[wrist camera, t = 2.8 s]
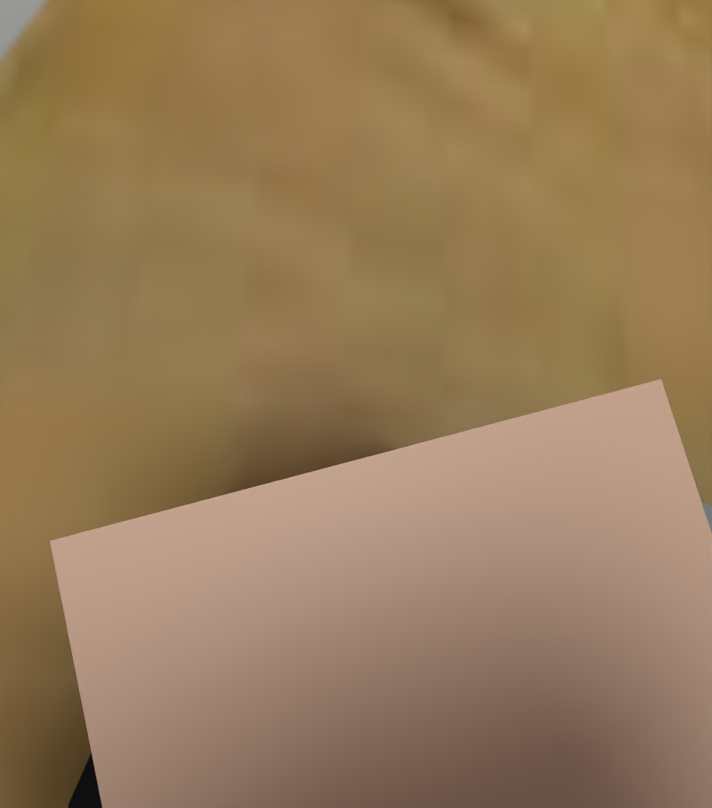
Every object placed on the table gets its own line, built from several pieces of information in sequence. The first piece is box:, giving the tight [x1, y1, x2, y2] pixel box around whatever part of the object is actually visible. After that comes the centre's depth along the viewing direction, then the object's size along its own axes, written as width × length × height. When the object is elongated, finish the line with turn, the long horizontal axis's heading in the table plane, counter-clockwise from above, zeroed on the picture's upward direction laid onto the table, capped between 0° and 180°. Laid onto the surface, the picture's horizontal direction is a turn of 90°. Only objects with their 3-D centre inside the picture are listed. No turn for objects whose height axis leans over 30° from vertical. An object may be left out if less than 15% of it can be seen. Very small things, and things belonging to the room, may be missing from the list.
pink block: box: [50, 379, 712, 808], centre depth 10 cm, size 6×6×12 cm
